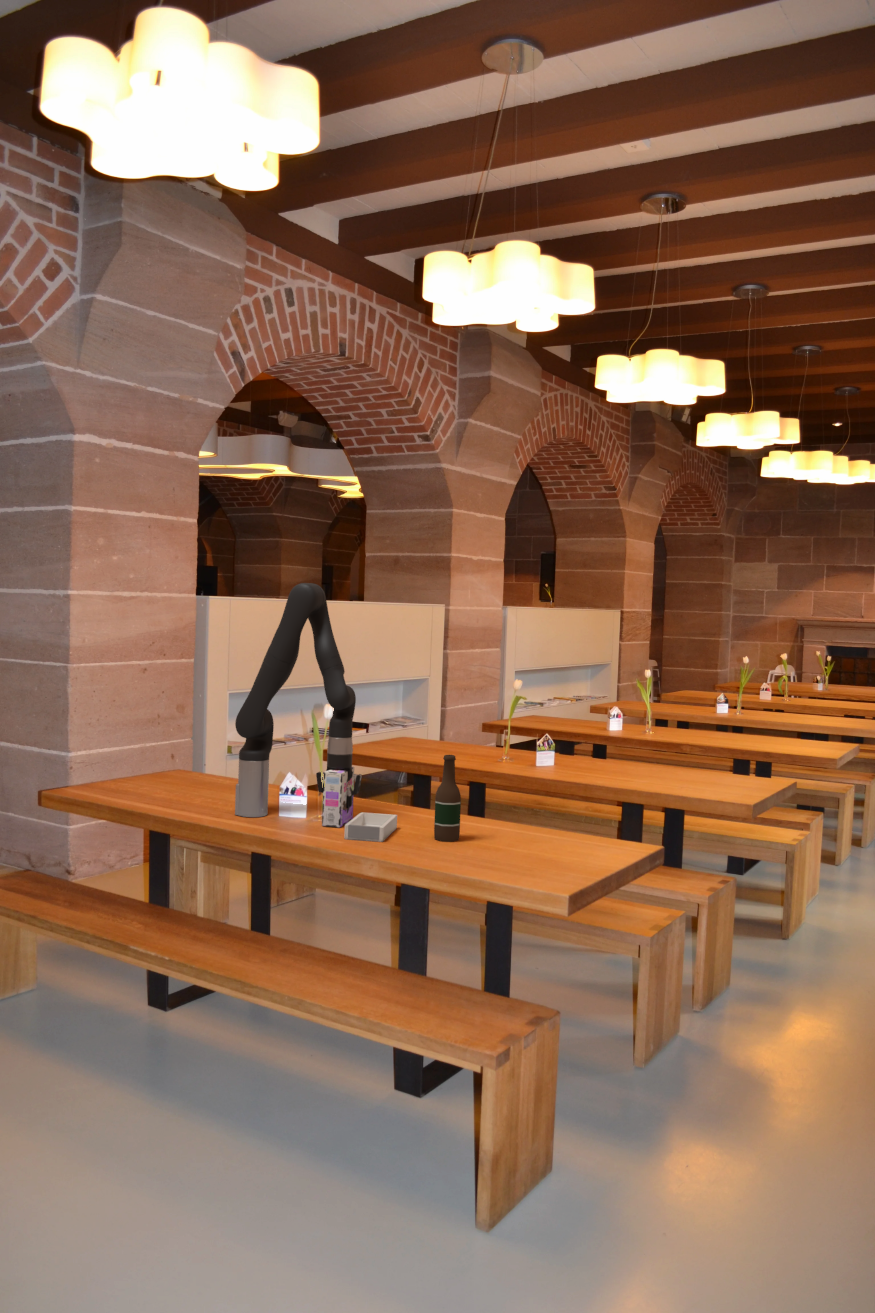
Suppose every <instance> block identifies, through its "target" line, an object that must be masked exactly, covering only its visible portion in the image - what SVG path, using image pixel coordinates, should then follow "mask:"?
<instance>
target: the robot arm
mask: <svg viewBox="0 0 875 1313" xmlns="http://www.w3.org/2000/svg"><path fill="white" fill-rule="evenodd" d="M330 619H331V618H330V615H329V609H328V602H327V597H326V593H325V591H324V589H323V588H322V586H320V585H319V584H316V583H311V582H300V583H298V584H296V585H294V586H293V587H292V588H291V590H290V592H289V594H288V596H287V600H286V603H285V607H284V609H283V613H282V616H281V619H280V621H279V624H278V626H277V629H276V630H275V633H274V635H273V638H272V640H271V642H270V644H269V646H268V649H267V651H266V653H265V656H264V658H263V660H262V663H261V665H260V668H259V670H258V672H257V675H256V677H255V678H254V682H253V685H252V687H251V688H250V691H249V693H248V695H247V697H246V699H245V701H244V702H243V704H242V705H241V707H240V710H239V711H238V713H237V715H236V718H235V723H234V724H235V731H236V732H237V734H238V735H239V736H240V737H242V738H243V739H245V741H244V745H243V746H242V747H241V749H240V750H239V752H238V778H237V783H236V784H235V795H234V796H235V797H234V798H235V800H234V815H235V816H239V817H244V818H246V817H247V818H261V817H266V816H268V810H269V779H270V754H271V751H272V750H273V741H274V739H273V738H274V728H275V727H274V724H275V723H274V717H273V715H272V713H271V711H270V710H269V709H268V708H269V707H270V706H269V705H270V703H271V701H272V700H273V699H274V697H275V696H276V695H277V693H278V692H279V691H280V689H281V688H282V687H283V686H284V685H285V683H286V682H287V681H288V679H289V678H290V676H291V674H292V672H293V669H294V668H295V665H296V663H297V661H298V658H299V657H298V656H299V653H300V644H301V643H300V642H301V635H302V632H303V629H304V627H305V625H306V622H307V621H308V622H309V624H310V626H311V631H312V635H313V648H314V655H315V659H316V662H317V664H318V668H319V671H320V674H321V676H322V680H323V682H322V683H323V687H324V688H323V689H324V694H325V697H326V700H327V702H328V704H329V706H331V707H332V709H333V708H334V711H333V710H332V717H330V719H329V725H328V741H327V754H326V755H327V756H326V757H327V758H326V770H325V771H328V770H330V769H342V770H347V771H348V781H349V780H350V779H351V778H352V777H353V778H354V790H353V791H352V788H351V784H349V785H348V784H347V795H348V796H347V803H346V808H347V809H349V808H350V807H351V806H352V801H353V802H354V796H353V795H358V794H359V793H360V789H361V783H362V777H363V774H361V773H359V774H357V773H355V772H354V773H353V771H352V767H353V752H354V748H353V746H354V744H353V720H354V716H355V709H356V701H357V697H356V693H355V690H354V689H353V688H352V687H351V686H349V685H348V684H346V680H345V677H344V675H345V672H346V671H345V666H344V664H343V661H342V658H341V654H340V651H339V649H338V646H337V643H336V639H335V636H334V632H333V628H332V624H331V620H330ZM325 771H321V772H323V774H324V772H325ZM321 772H320V771H318V772H316V774H315V776H316V784H317V792H319V793H322V794H323V788H322V782H321ZM322 780H323V781H324V779H323V777H322Z"/></svg>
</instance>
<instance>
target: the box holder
mask: <svg viewBox="0 0 875 1313" xmlns="http://www.w3.org/2000/svg"><path fill="white" fill-rule="evenodd" d="M397 827H398V814H390V813H389V814H388V813H374V812H360V813H358V814H357V815H355V816H353V819H352V820H350V821H349V822H347V823H346V824H344V836H343V837H344V838H343V839H344V840H349V841H350V840H351V841H363V842H379V843H384V842H385V840H386V839H388V838H389V836H390V835H392V833H393V832H395V831H396V830H397Z"/></svg>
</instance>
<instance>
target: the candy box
mask: <svg viewBox="0 0 875 1313" xmlns="http://www.w3.org/2000/svg"><path fill="white" fill-rule="evenodd" d="M352 771H353V773H354V774H355V767H354V766H352ZM323 772H324V779H323V793H322V811H321V812H322V816H321V826H322V827H331V828H337V829H338V828H342V827H343V826H345V824H347V823H348V822H349V821H351V820H352V819H353V818H354V800H353V801H352V806H351V807H350V808H349V809H347V808H346V803H347V796H348V795H347V784H348V785H349V784H351V788H352V791H353V790H354V786H355V781H354V778H353V777H352V778H351V779H350V780H349V781H348V771H347V770H342V769H330V770H328V771H326V770H324V771H323ZM324 781H325V787H324ZM353 797H355V796H354V795H353Z"/></svg>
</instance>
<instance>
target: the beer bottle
mask: <svg viewBox="0 0 875 1313" xmlns="http://www.w3.org/2000/svg"><path fill="white" fill-rule="evenodd" d="M456 758H457V757H456V755H453V754H444V755H443V760H444V761H443V771H442V780H441V782H440V785H439V786H438V787H437V790H436V792H435V800H434V801H435V802H434V803H435V804H434V824H433V826H434V827H433V834H434V835H433V837H434V840H435V841H439V842H442V843H443V842H446V843H453V842H457V841H459V840H460V833H461V832H460V831H461V810H462V809H461V808H462V807H461V805H462V804H461V803H462V801H461V800H462V797H461V792H460V788H459V786H458V785H457V783H456V782H457V781H456V763H455V762H456V760H457V759H456Z"/></svg>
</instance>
